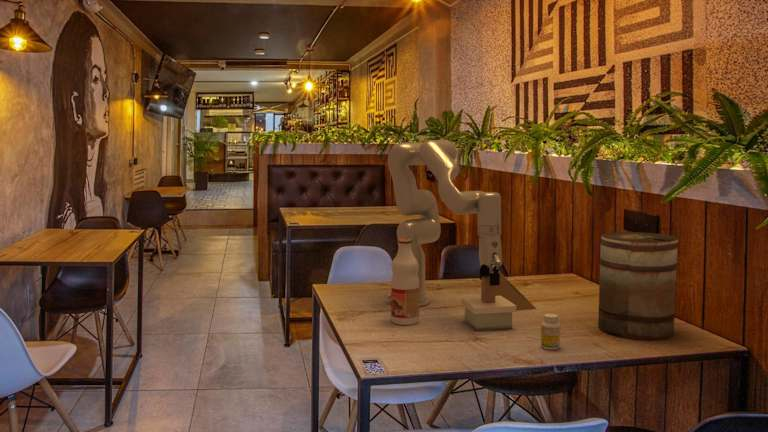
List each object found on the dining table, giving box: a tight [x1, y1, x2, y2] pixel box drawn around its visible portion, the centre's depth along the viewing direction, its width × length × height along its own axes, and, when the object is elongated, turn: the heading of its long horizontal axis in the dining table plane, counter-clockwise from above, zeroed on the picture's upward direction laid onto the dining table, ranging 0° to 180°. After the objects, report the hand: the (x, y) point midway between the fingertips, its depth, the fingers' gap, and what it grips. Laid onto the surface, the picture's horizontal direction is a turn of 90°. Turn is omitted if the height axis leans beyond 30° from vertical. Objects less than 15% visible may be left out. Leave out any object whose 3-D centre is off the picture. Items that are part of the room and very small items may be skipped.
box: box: [464, 306, 513, 332], centre depth 211 cm, size 12×12×7 cm
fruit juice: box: [390, 238, 420, 326], centre depth 214 cm, size 9×9×28 cm
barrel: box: [597, 231, 679, 342], centre depth 203 cm, size 22×22×30 cm
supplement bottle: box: [540, 313, 561, 351], centre depth 187 cm, size 5×5×10 cm
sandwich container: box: [489, 270, 537, 311], centre depth 233 cm, size 9×15×15 cm, turn 101°
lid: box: [460, 275, 517, 314], centre depth 210 cm, size 14×14×10 cm
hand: (489, 282), depth 209 cm, fingers open, 9 cm apart
